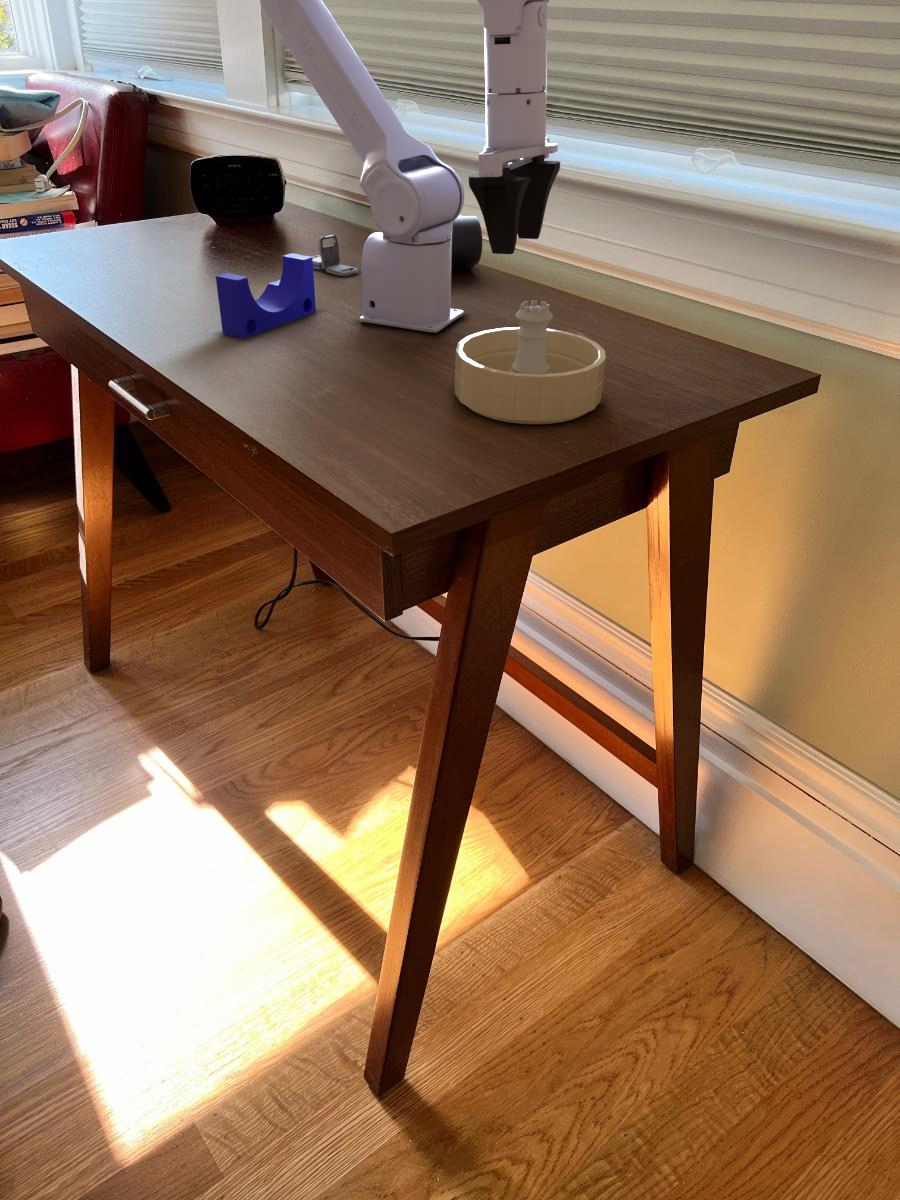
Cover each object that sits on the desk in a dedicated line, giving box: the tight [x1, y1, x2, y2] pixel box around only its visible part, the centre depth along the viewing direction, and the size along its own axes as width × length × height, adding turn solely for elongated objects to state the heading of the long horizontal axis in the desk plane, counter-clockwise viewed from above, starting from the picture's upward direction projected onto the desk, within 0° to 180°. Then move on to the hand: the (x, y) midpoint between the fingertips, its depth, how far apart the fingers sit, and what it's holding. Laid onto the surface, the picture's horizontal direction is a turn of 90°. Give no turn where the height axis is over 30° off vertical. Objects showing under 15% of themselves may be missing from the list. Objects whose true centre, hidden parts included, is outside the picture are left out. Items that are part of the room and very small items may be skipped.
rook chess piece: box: [509, 299, 554, 374], centre depth 80 cm, size 4×4×8 cm
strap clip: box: [311, 234, 359, 276], centre depth 119 cm, size 8×3×4 cm, turn 48°
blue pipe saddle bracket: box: [215, 252, 317, 340], centre depth 99 cm, size 12×4×6 cm, turn 148°
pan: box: [454, 326, 607, 425], centre depth 82 cm, size 13×13×4 cm
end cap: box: [451, 214, 483, 272], centre depth 118 cm, size 10×7×7 cm
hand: (516, 245), depth 92 cm, fingers open, 7 cm apart
